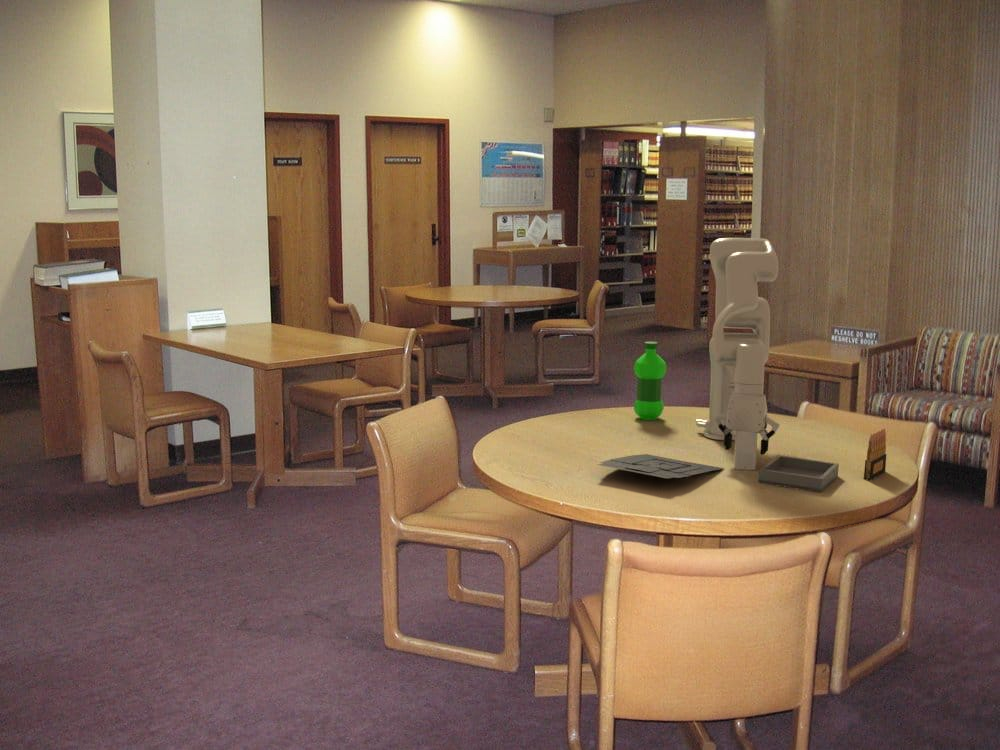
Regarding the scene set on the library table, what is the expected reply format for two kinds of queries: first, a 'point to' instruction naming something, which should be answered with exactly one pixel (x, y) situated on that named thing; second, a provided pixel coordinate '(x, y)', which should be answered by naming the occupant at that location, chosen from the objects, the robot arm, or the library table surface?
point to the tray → (798, 473)
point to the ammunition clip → (876, 455)
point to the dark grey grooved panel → (658, 466)
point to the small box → (745, 450)
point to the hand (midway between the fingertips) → (745, 451)
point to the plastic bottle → (649, 383)
